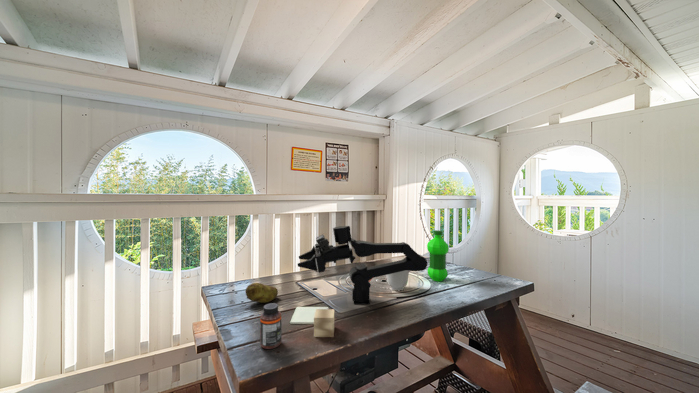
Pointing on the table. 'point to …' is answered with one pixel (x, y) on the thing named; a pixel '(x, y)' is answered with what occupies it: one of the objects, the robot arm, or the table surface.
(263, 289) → the potato
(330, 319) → the cube
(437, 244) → the plastic bottle
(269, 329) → the supplement bottle
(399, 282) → the teacup
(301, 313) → the mat
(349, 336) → the table surface
